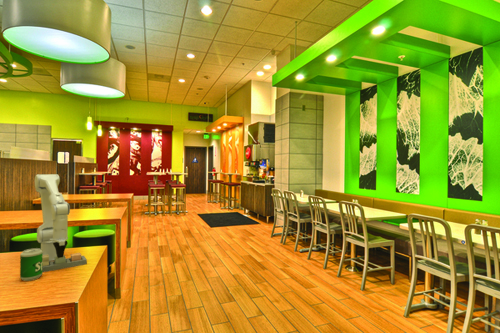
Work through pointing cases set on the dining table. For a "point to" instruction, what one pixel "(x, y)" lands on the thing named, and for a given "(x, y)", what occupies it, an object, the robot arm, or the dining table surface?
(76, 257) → the orange brown cube
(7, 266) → the dining table surface
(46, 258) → the maple key
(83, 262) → the button board
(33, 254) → the soda can
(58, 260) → the pale green cube
